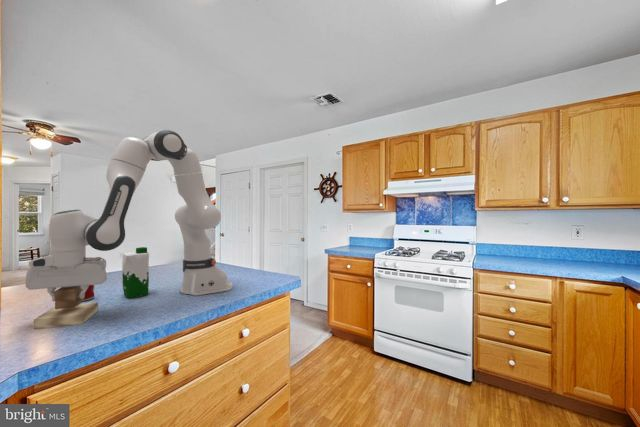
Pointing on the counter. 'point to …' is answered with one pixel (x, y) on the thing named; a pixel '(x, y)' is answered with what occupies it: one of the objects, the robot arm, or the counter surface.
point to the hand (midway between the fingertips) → (68, 299)
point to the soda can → (89, 293)
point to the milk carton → (135, 273)
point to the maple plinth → (66, 316)
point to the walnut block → (67, 297)
